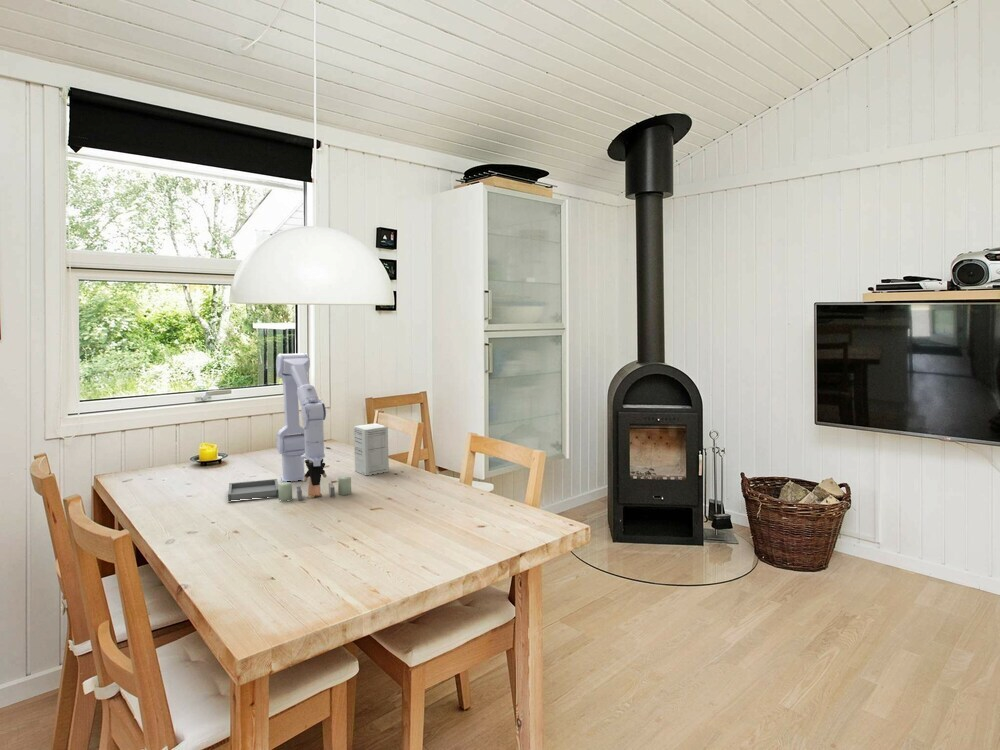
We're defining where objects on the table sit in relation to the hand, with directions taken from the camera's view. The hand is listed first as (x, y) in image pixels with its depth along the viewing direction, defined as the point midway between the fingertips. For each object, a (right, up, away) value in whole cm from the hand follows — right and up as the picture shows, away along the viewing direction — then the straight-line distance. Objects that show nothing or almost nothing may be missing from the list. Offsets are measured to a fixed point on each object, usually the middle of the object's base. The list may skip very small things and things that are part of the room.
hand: (315, 483), depth 194 cm
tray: (-20, -4, +3) cm, 21 cm away
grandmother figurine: (0, -4, +1) cm, 4 cm away
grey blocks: (0, -4, 0) cm, 4 cm away
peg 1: (+8, -4, +4) cm, 10 cm away
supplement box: (+11, -1, +31) cm, 33 cm away
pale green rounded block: (-8, -5, -3) cm, 10 cm away
